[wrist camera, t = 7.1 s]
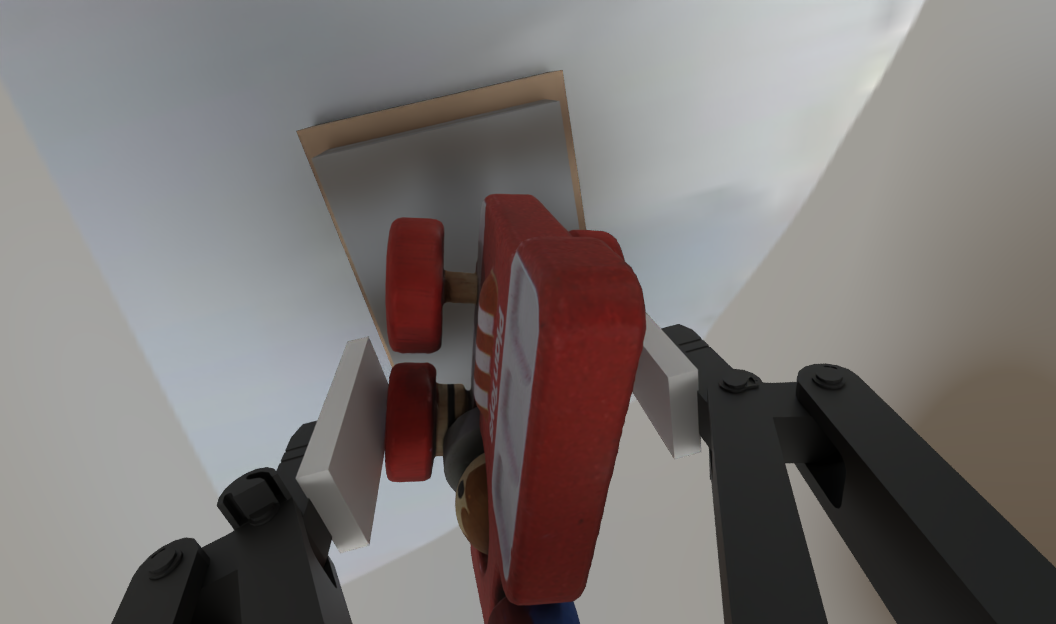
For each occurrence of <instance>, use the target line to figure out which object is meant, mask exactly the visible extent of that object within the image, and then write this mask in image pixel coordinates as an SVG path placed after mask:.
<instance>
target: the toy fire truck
mask: <svg viewBox="0 0 1056 624" xmlns="http://www.w3.org/2000/svg"><path fill="white" fill-rule="evenodd" d="M448 302H452V303H473V304H475V310H474V329H473V348H472V367H471V389H470V390H466V389H465V387H464V385H463V384H439V383H437V382H436V375H437V372H436V368H435V367H434V365H433V364H430V363H428V362H426V363H414V362H404V363H398V364H395V365H394V366H393V367H392V370H391V373H390V377H389V386H388V396H387V410H386V424H385V466H386V474H387V478H388V479H389V480H390V481H392V482H415V481H425V480H427V479H429V478H430V477H431V474H432V467H433V462H434V458H435V457H436V456H443V462H444V473H445V477H446V480H447V482H448V483H449V485H450V486H451V488H452V489H453V490H454V491H455V492H456V500H455V507H456V516H457V520H458V523H459V526H460V528H461V530H462V532H463V534H464V535H465V537H466V538H467V540H468V541H469V542H470V544H471V556H472V562H473V568H474V572H475V578H476V583H477V588H478V593H479V598H480V603H481V608H482V614H483V618H484V624H580V622H579V618H578V615H577V611H576V608H575V605H574V602H573V601H575V600H576V599H577V598H579V597H580V596H581V594H582V593H583V591H584V589H585V587H586V583H587V578H588V574H589V570H590V567H591V562H592V559H593V555H594V549H595V545H596V540H597V537H598V535H599V530H600V524H601V519H602V516H603V512H604V506H605V502H606V497H607V493H608V488H609V484H610V481H611V478H612V474H613V470H614V465H615V460H616V456H617V453H618V449H619V442H620V438H621V435H622V428H623V425H624V422H625V416H626V414H627V411H628V407H629V402H630V397H631V394H632V392H633V387H634V382H635V375H636V371H637V368H638V364H639V358H640V356H641V353H642V350H643V341H644V337H645V333H646V312H645V304H644V298H643V292H642V288H641V286H640V283H639V281H638V278H637V276H636V274H635V273H634V272H633V270H632V268H631V267H630V266H629V265H628V264H627V263H626V262H625V260H624V256H623V253H622V250H621V247H620V245H619V243H618V242H617V239H616V238H614V237H613V236H612V235H611V234H609V233H607V232H604V231H592V230H570V231H567V229H565V228H564V227H563V226H562V225H561V224H560V223H559V222H558V220H557V219H556V218H555V217H554V216H553V215H552V214H551V213H550V212H549V211H548V210H547V209H546V208H545V207H544V205H543V204H542V203H541V202H540V201H539V200H538V199H537V198H535V197H534V196H533V195H529V194H491V195H488V196H487V197H486V198H485V199H484V200H483V203H482V206H481V213H480V229H479V239H478V259H477V262H476V270H475V273H464V272H452V271H446V270H444V226H443V224H442V222H440V221H439V220H437V219H431V218H409V217H401V218H397V219H396V220H394V221H393V222H392V224H391V228H390V230H389V237H388V244H387V256H386V282H385V305H386V322H387V335H388V340H389V345H390V347H391V349H392V350H393V351H395V352H399V353H402V354H404V353H412V354H413V353H426V354H431V353H434V352H436V351H438V350H439V349H440V348H441V345H442V324H443V305H444V303H448Z"/></svg>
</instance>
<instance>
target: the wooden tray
mask: <svg viewBox="0 0 1056 624" xmlns="http://www.w3.org/2000/svg"><path fill="white" fill-rule="evenodd" d="M296 132H297V134H298V136H299V139H300V141H301V144H302V146H303V149H304V151H305V154H306V156H307V159H308V161H309V164H310V166H311V169H312V171H313V173H314V176H315V178H316V181H317V183H318V186H319V188H320V191H321V193H322V196H323V198H324V201H325V203H326V206H327V208H328V210H329V213H330V215H331V218H332V220H333V223H334V225H335V228H336V230H337V233H338V235H339V238H340V240H341V243H342V245H343V247H344V250H345V252H346V255H347V257H348V260H349V262H350V265H351V267H352V270H353V272H354V275H355V277H356V280H357V282H358V284H359V287H360V289H361V292H362V294H363V297H364V299H365V302H366V304H367V307H368V309H369V312H370V314H371V317H372V319H373V321H374V324H375V326H376V329H377V331H378V334H379V336H380V339H381V341H382V344H383V346H384V349H385V351H386V354H387V356H388V359H389V361H390V363H391V366H392V367H393V366H394V365H395V364H398V363H404V362H414V363H426V362H428V363H430V364H433V365H434V367H435V368H436V372H437V375H436V382H437V383H439V384H463V385H464V387H465V389H466V390H470V389H471V367H472V348H473V329H474V310H475V304H473V303H452V302H448V303H444V305H443V324H442V345H441V348H440V349H439V350H438V351H436V352H434V353H431V354H426V353H413V354H412V353H404V354H402V353H399V352H395V351H393V350H392V349H391V347H390V345H389V340H388V335H387V322H386V305H385V282H386V256H387V244H388V237H389V230H390V228H391V224H392V222H393V221H394V220H396V219H397V218H401V217H409V218H431V219H437V220H439V221H440V222H442V224H443V226H444V270H446V271H452V272H464V273H475V270H476V262H477V259H478V239H479V229H480V213H481V206H482V203H483V200H484V199H485V198H486V197H487V196H488V195H491V194H529V195H533V196H534V197H535V198H537V199H538V200H539V201H540V202H541V203H542V204H543V205H544V207H545V208H546V209H547V210H548V211H549V212H550V213H551V214H552V215H553V216H554V217H555V218H556V219H557V220H558V222H559V223H560V224H561V225H562V226H563V227H564V228H565V229H567V231H570V230H586V225H585V219H584V212H583V205H582V199H581V192H580V185H579V178H578V172H577V165H576V158H575V151H574V145H573V138H572V131H571V124H570V118H569V111H568V104H567V97H566V91H565V84H564V77H563V70H560V71H553V72H547V73H543V74H538V75H534V76H530V77H525V78H521V79H516V80H512V81H508V82H503V83H499V84H495V85H490V86H486V87H481V88H477V89H473V90H468V91H464V92H460V93H455V94H451V95H446V96H442V97H438V98H433V99H429V100H425V101H420V102H416V103H411V104H407V105H403V106H398V107H394V108H390V109H385V110H381V111H376V112H372V113H368V114H363V115H359V116H355V117H350V118H346V119H341V120H337V121H333V122H328V123H324V124H320V125H315V126H311V127H308V128H305V129H301V130H298V131H296Z"/></svg>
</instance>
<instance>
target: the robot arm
mask: <svg viewBox="0 0 1056 624" xmlns="http://www.w3.org/2000/svg"><path fill="white" fill-rule="evenodd" d="M388 386H389V384H388V382H387V380H386V377H385V375H384V372H383V370H382V368H381V365H380V363H379V360H378V358H377V356H376V353H375V351H374V348H373V346H372V344H371V341H370V339H369V336H368V337H364V338H360V339H356V340H352V341H348V342H347V344H346V347H345V350H344V352H343V355H342V358H341V360H340V363H339V365H338V368H337V371H336V373H335V376H334V379H333V381H332V384H331V386H330V389H329V392H328V394H327V397H326V400H325V402H324V405H323V407H322V410H321V413H320V415H319V418H318V420H317V421H314V422H310V423H306V424H303V425H302V426H301V427H300V428H299V429H298V430H297V431H296V433H295V434H294V435H293V436H292V437H291V439H290V441H289V443H288V446H287V448H286V453H284V455H283V457H282V459H281V463H280V464H279V466H278V469H277V471H275V469H273V468H268V467H265V468H259V469H255V470H253V471H251V472H248V473H246V474H244V475H243V476H241V477H239V478H238V479H236V480H235V481H234V482H232V483H231V484H230V485H229V486H228V487H227V488H226V489H225V490H224V491H223V493H222V494H221V496H220V497H219V499H218V503H217V507H218V508H219V509H220V511H221V512H222V514H223V515H224V516H225V518H226V519H227V520H228V522H229V523H230V525H231V526H232V527H233V529H234V531H233V532H231V533H229V534H228V535H226V536H224V537H222V538H220V539H218V540H216V541H214V542H212V543H210V544H208V545H206V546H204V547H202V548H201V546H200V545H199V544H198V543H197V542H196V540H195V539H193V538H182V539H179V540H175V541H173V542H171V543H169V544H167V545H165V546H163V547H161V548H160V549H158V550H157V551H156V552H154V553H153V554H152V555H151V556H149V557H148V558H147V560H146V561H145V562H144V563H143V564H142V565H141V566H140V567H139V568H138V570H137V571H136V573H135V574H134V576H133V577H132V580H131V582H130V584H129V586H128V588H127V591H126V593H125V595H124V597H123V600H122V602H121V604H120V606H119V608H118V610H117V613H116V615H115V617H114V619H113V621H112V623H111V624H352V621H351V618H350V615H349V611H348V608H347V605H346V602H345V599H344V595H343V592H342V589H341V586H340V582H339V579H338V576H337V573H336V569H335V566H334V564H333V562H332V561H331V559H330V558H329V556H328V552H329V548H330V544H331V540H333V542H334V544H335V545H336V547H337V549H338V550H339V552H340V553H343V552H347V551H350V550H354V549H358V548H361V547H365V546H368V545H369V544H370V537H371V531H372V525H373V519H374V513H375V507H376V501H377V495H378V488H379V482H380V476H381V470H382V464H383V458H384V452H385V424H386V410H387V396H388ZM633 394H634V395H635V397H636V398H637V400H638V402H639V403H640V405H641V406H642V408H643V410H644V411H645V413H646V414H647V416H648V417H649V419H650V421H651V422H652V424H653V426H654V427H655V429H656V430H657V432H658V434H659V435H660V437H661V439H662V440H663V442H664V443H665V445H666V447H667V448H668V450H669V451H670V453H671V455H672V456H673V458H674V459H678V458H681V457H685V456H689V455H692V454H696V453H699V452H701V437H702V438H703V440H704V441H705V442H706V444H707V445H708V447H709V462H710V463H709V464H710V480H711V482H712V493H713V504H714V515H715V526H716V537H717V547H718V559H719V569H720V580H721V591H722V603H723V614H724V624H828V622H827V618H826V614H825V611H824V607H823V603H822V599H821V596H820V592H819V588H818V584H817V581H816V577H815V573H814V570H813V566H812V562H811V558H810V554H809V551H808V547H807V544H806V540H805V536H804V532H803V528H802V525H801V521H800V517H799V514H798V510H797V506H796V502H795V499H794V495H793V491H792V487H791V484H790V480H789V476H788V473H787V469H786V465H785V463H794V464H795V465H796V467H797V468H798V470H799V471H800V473H801V475H802V476H803V478H804V479H805V481H806V482H807V484H808V485H809V487H810V489H811V490H812V492H813V493H814V495H815V496H816V498H817V500H818V501H819V502H820V504H821V506H822V507H823V509H824V510H825V512H826V514H827V515H828V517H829V518H830V520H831V521H832V523H833V524H834V526H835V528H836V529H837V531H838V532H839V534H840V535H841V537H842V538H843V540H844V542H845V543H846V545H847V546H848V548H849V549H850V551H851V553H852V554H853V555H854V557H855V559H856V560H857V562H858V563H859V565H860V567H861V568H862V570H863V571H864V573H865V574H866V576H867V577H868V579H869V581H870V582H871V584H872V585H873V587H874V588H875V590H876V591H877V593H878V594H879V596H880V598H881V599H882V601H883V602H884V604H885V606H886V607H887V609H888V610H889V612H890V613H891V615H892V616H893V618H894V620H895V621H896V623H897V624H1056V568H1055V567H1054V566H1053V565H1052V564H1051V563H1050V562H1049V561H1048V560H1047V559H1046V558H1045V557H1044V556H1043V555H1042V554H1041V553H1040V552H1039V551H1038V550H1037V549H1036V548H1035V547H1034V546H1033V545H1032V544H1031V543H1030V542H1029V541H1028V540H1027V539H1025V537H1023V536H1022V535H1021V534H1020V533H1019V532H1018V531H1017V530H1016V529H1015V528H1014V527H1013V526H1012V525H1011V524H1010V523H1009V522H1008V521H1007V520H1006V519H1005V518H1004V517H1003V516H1002V515H1001V514H1000V513H999V512H998V511H997V510H996V509H995V508H994V507H993V506H991V504H989V503H988V502H987V501H986V500H985V499H984V498H983V497H982V496H981V495H980V494H979V493H978V492H977V491H976V490H975V489H974V488H973V487H972V486H971V485H970V484H969V483H968V482H967V481H966V480H965V479H964V478H963V477H962V476H961V475H959V473H958V472H956V470H954V469H953V468H952V467H951V466H950V465H949V464H948V463H947V462H946V461H945V460H944V459H943V458H942V457H941V456H940V455H939V454H938V453H937V452H936V451H935V450H934V449H933V448H932V447H931V446H930V445H929V444H928V443H927V442H926V441H925V440H924V439H923V438H922V437H920V436H919V435H918V434H917V433H916V432H915V431H914V430H913V429H912V428H911V427H910V426H909V425H908V424H907V423H906V422H905V421H904V420H903V419H902V418H901V417H900V416H899V415H898V414H897V413H896V412H895V411H894V410H893V409H892V408H891V407H890V406H889V405H887V403H885V402H884V401H883V400H882V399H881V398H880V397H879V396H878V395H877V394H876V393H875V392H874V391H873V390H872V389H871V388H870V387H869V386H868V385H867V384H866V383H865V382H864V381H863V380H862V379H861V378H860V377H859V376H857V375H856V374H855V373H853V372H852V371H850V370H849V369H846V368H843V367H840V366H837V365H831V364H813V365H809V366H806V367H804V368H803V369H801V370H800V371H799V372H798V376H797V382H787V383H786V382H785V383H763V382H762V381H761V379H760V378H759V377H757V376H756V375H755V374H753V373H750V372H748V371H745V370H739V369H733V368H732V367H731V366H730V365H728V364H727V363H726V362H725V361H724V360H723V359H722V358H721V357H720V356H719V355H718V354H717V353H716V352H715V351H714V350H713V349H712V348H711V347H709V346H708V344H707V343H706V342H705V341H704V340H702V339H701V337H700V336H699V335H697V334H696V333H695V332H694V331H693V330H692V329H690V328H687V327H685V326H682V325H680V324H677V325H673V326H669V327H665V328H662V329H661V328H660V327H659V326H658V325H657V324H656V323H655V322H654V321H653V320H652V318H651V317H650V316H649V315H648V314H647V313H646V333H645V337H644V341H643V350H642V353H641V356H640V358H639V364H638V368H637V371H636V375H635V382H634V387H633Z"/></svg>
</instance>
